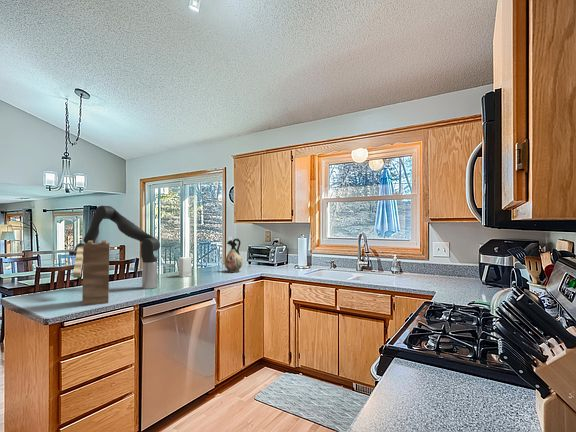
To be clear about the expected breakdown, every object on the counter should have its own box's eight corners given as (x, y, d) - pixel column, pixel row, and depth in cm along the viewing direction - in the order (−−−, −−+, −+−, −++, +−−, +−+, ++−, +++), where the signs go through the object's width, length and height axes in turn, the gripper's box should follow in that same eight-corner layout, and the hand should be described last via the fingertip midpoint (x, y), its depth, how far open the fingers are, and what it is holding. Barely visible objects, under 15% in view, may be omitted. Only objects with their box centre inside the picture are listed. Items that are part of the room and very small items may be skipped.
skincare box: (187, 275, 268) (187, 256, 268) (191, 276, 264) (192, 257, 264) (178, 276, 261) (178, 257, 262) (182, 277, 257) (182, 258, 257)
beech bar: (77, 251, 206) (77, 246, 204) (84, 251, 208) (83, 246, 206) (73, 277, 186) (73, 272, 185) (80, 277, 188) (80, 272, 186)
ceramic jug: (222, 272, 282) (222, 238, 283) (227, 270, 298) (228, 237, 298) (241, 273, 280) (241, 238, 281) (245, 270, 295) (246, 238, 296)
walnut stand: (83, 300, 181) (85, 240, 182) (108, 298, 187) (109, 240, 187) (82, 305, 170) (83, 241, 171) (108, 302, 176) (109, 241, 177)
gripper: (69, 246, 211) (66, 248, 196) (94, 245, 218) (93, 247, 203) (69, 257, 211) (65, 260, 196) (94, 256, 218) (92, 259, 203)
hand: (79, 254), depth 200 cm, fingers closed on beech bar, 3 cm apart
